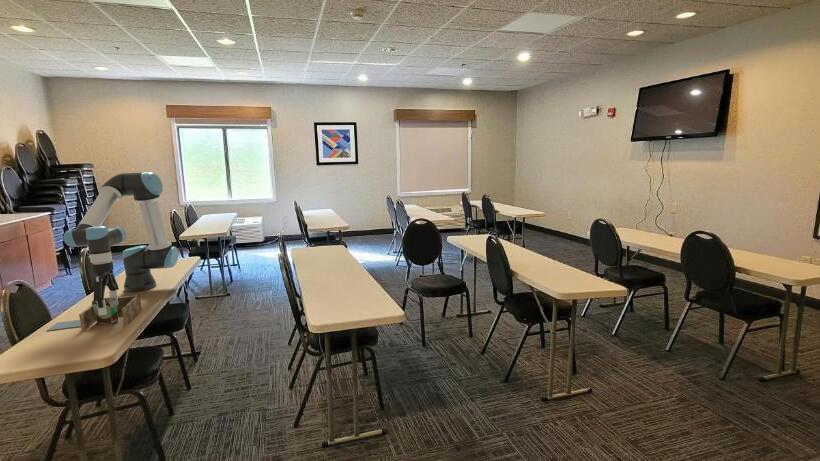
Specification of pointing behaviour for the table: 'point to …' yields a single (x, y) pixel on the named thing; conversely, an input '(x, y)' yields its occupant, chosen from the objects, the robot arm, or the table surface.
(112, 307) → the food container
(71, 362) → the table surface
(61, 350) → the table surface
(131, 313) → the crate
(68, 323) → the pad
